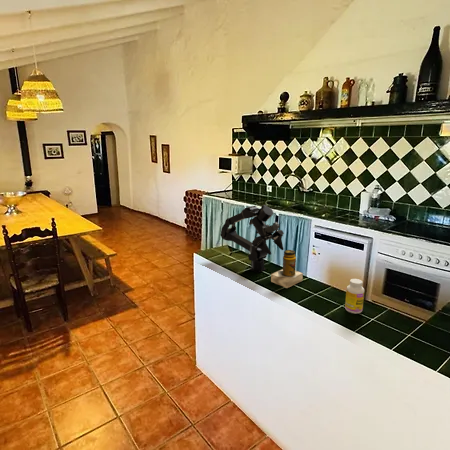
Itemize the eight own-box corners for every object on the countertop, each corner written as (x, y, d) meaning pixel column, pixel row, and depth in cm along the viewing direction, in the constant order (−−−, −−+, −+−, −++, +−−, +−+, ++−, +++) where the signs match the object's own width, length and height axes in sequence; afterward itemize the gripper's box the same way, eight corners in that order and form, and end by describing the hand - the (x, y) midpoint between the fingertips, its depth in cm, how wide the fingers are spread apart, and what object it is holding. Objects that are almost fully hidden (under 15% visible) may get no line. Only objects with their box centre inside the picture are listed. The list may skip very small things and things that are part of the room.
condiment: (296, 277, 152) (297, 253, 149) (278, 277, 153) (279, 253, 150) (294, 271, 159) (295, 248, 156) (277, 271, 160) (278, 248, 157)
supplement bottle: (355, 316, 126) (358, 286, 122) (341, 308, 131) (343, 280, 128) (365, 311, 129) (368, 281, 126) (351, 304, 134) (354, 276, 131)
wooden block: (271, 281, 158) (271, 274, 157) (286, 274, 165) (286, 267, 164) (287, 288, 150) (287, 280, 149) (302, 280, 158) (302, 273, 157)
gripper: (256, 221, 153) (273, 248, 148) (281, 214, 165) (298, 239, 159) (244, 233, 161) (260, 259, 156) (269, 226, 172) (285, 250, 167)
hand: (277, 252), depth 159 cm, fingers open, 9 cm apart
